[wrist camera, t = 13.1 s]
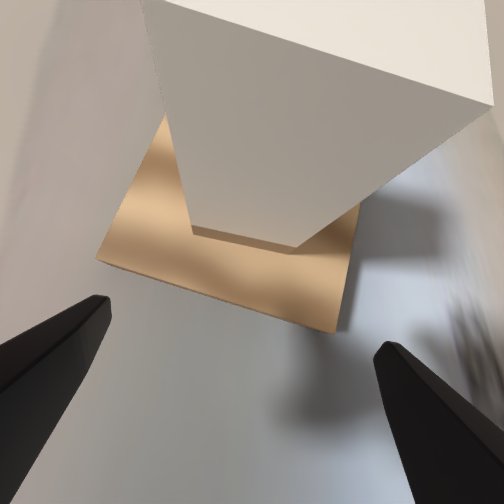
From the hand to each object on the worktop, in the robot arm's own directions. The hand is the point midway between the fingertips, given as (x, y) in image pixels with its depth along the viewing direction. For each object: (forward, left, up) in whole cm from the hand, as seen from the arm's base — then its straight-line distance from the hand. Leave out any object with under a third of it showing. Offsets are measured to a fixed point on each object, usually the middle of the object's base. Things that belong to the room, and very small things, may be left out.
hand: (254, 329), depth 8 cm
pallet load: (+8, +1, -8) cm, 11 cm away
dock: (+8, +1, -10) cm, 13 cm away
